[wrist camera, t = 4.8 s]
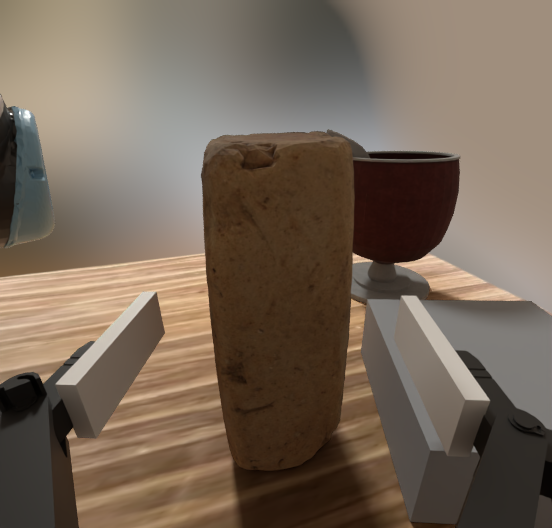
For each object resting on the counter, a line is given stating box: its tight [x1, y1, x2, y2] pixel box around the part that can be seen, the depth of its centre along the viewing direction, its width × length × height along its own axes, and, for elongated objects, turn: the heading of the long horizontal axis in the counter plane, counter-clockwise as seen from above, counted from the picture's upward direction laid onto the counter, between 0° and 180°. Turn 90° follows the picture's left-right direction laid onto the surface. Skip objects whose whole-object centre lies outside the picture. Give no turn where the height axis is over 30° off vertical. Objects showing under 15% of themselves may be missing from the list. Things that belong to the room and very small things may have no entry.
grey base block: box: [361, 299, 552, 528], centre depth 22 cm, size 14×14×6 cm
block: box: [201, 131, 355, 471], centre depth 20 cm, size 11×8×20 cm
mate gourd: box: [327, 129, 460, 304], centre depth 38 cm, size 16×14×20 cm
